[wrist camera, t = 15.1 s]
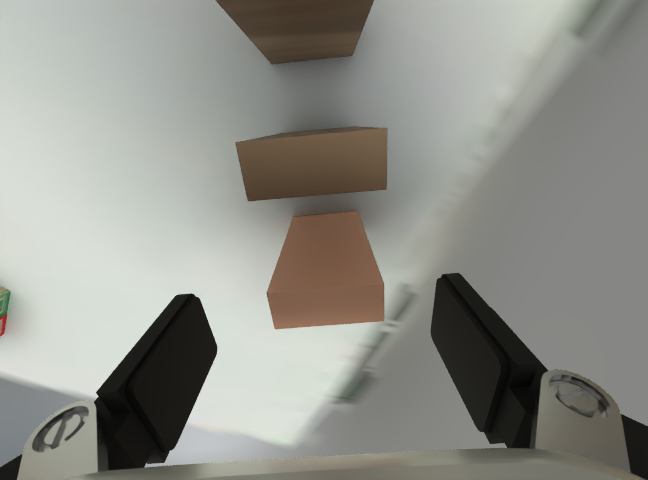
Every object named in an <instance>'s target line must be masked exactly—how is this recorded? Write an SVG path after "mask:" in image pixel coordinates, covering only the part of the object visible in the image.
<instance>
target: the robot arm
mask: <svg viewBox="0 0 648 480" xmlns="http://www.w3.org/2000/svg"><path fill="white" fill-rule="evenodd" d="M431 337H432V339H433V342H434V344H435V346H436V348H437V350H438V352H439V354H440V356H441V358H442V360H443V362H444V364H445V366H446V368H447V370H448V372H449V374H450V376H451V378H452V380H453V382H454V384H455V385H456V388H457V390H458V392H459V394H460V395H461V398H462V400H463V402H464V404H465V405H466V408H467V410H468V412H469V413H470V415H471V418H472V420H473V421H474V424H475V426H476V427H477V429H478V430H479V431H480V432H484V433H485V435H486V437H487V439H488V441H489V443H490V444H496V443H505V444H506V446H507V448H489V449H488V448H487V449H456V450H433V451H414V452H413V451H412V452H393V453H375V454H356V455H338V456H320V457H303V458H285V459H269V460H251V461H236V462H220V463H203V464H189V465H173V466H158V467H147V468H144V466H145V464H146V462H147V464H152V463H164V462H165V460H166V458H167V456H168V454H169V451H170V450H172V449H174V448H175V446H176V444H177V442H178V440H179V438H180V436H181V433H182V431H183V429H184V427H185V424H186V422H187V420H188V418H189V415H190V413H191V411H192V409H193V406H194V404H195V402H196V400H197V397H198V395H199V393H200V391H201V388H202V386H203V384H204V382H205V379H206V377H207V375H208V373H209V370H210V368H211V366H212V364H213V361H214V359H215V357H216V354H217V344H216V342H215V339H214V336H213V334H212V331H211V328H210V325H209V323H208V320H207V317H206V314H205V312H204V309H203V306H202V304H201V301H200V299H199V298H198V297H196V296H195V295H194V294H180V295H176V296H175V297H174V298H173V300H172V301H171V302H170V303H169V304H168V306H167V307H166V308H165V309H164V310H163V312H162V313H161V314H160V315H159V317H158V318H157V319H156V320H155V321H154V323H153V324H152V325H151V326H150V327H149V329H148V330H147V331H146V332H145V334H144V335H143V336H142V337H141V338H140V340H139V341H138V342H137V343H136V345H135V346H134V347H133V348H132V349H131V351H130V352H129V353H128V354H127V355H126V357H125V358H124V359H123V360H122V362H121V363H120V364H119V365H118V366H117V368H116V369H115V370H114V371H113V372H112V374H111V375H110V376H109V377H108V379H107V380H106V381H105V382H104V383H103V385H102V386H101V387H100V388H99V390H98V391H97V392H96V393H97V395H98V396H99V397H98V398H97V399H96V400H95V402H94V403H93V402H91V401H79V402H75V403H72V404H70V405H68V406H66V407H64V408H62V409H60V410H59V411H57V412H56V413H54V414H52V416H50V417H49V418H47V419H46V420H45V421H44V422H43V423H42V424H41V425H40V426H39V427H38V428H37V429H36V430H35V431H34V432H33V433H32V434H31V436H30V437H29V439H28V440H27V442H26V444H25V447H24V449H23V454H21V455H20V456H18V457H16V458H15V459H13V460H12V461H10V462H8V463H7V464H5V465H3V466H2V467H0V480H648V426H645V425H643V424H641V423H639V422H637V421H635V420H633V419H631V418H628V417H626V416H624V415H622V414H621V413H620V410H619V408H618V405H617V403H616V402H615V401H614V400H613V398H612V397H611V396H610V395H609V394H608V393H607V392H606V391H605V390H604V389H602V388H601V387H600V386H599V385H597V384H596V383H594V382H592V381H591V380H589V379H587V378H585V377H583V376H581V375H579V374H576V373H573V372H569V371H567V370H558V369H555V370H549V371H548V370H547V369H546V368H545V367H544V365H543V364H542V363H541V362H540V361H539V360H538V359H537V358H536V357H535V355H534V354H533V353H532V352H531V351H530V350H529V349H528V348H527V346H526V345H525V344H524V343H523V342H522V341H521V340H520V339H519V338H518V337H517V335H516V334H515V333H514V332H513V331H512V330H511V329H510V328H509V326H508V325H507V324H506V323H505V322H504V321H503V320H502V319H501V318H500V317H499V315H498V314H497V313H496V312H495V311H494V310H493V309H492V308H491V307H489V306H488V305H487V303H486V302H485V301H484V300H483V299H482V298H481V297H480V296H479V294H478V293H477V292H476V291H475V290H474V289H473V288H472V287H471V285H470V284H469V283H468V282H467V281H466V280H465V279H464V278H463V276H462V275H461V274H459V273H451V274H443V275H442V276H441V278H438V279H437V283H436V290H435V299H434V307H433V315H432V323H431Z"/></svg>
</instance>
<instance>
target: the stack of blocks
mask: <svg viewBox="0 0 648 480" xmlns="http://www.w3.org/2000/svg"><path fill="white" fill-rule="evenodd" d="M9 297H10V291H9V290H7V289H4V288H2V287H0V336H2V335H3V334H4V330H5V324H6V318H7V308H8V303H9Z"/></svg>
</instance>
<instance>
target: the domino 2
mask: <svg viewBox="0 0 648 480" xmlns="http://www.w3.org/2000/svg"><path fill="white" fill-rule="evenodd" d="M236 148H237V153H238V157H239V162H240V167H241V171H242V176H243V181H244V185H245V190H246V195H247V199H248V201H256V200H268V199H280V198H292V197H303V196H315V195H327V194H339V193H350V192H362V191H374V190H386V189H387V128H373V127H344V128H334V129H323V130H313V131H302V132H292V133H281V134H276V135H271V136H266V137H261V138H256V139H251V140H246V141H241V142H236Z"/></svg>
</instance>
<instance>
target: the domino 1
mask: <svg viewBox="0 0 648 480" xmlns="http://www.w3.org/2000/svg"><path fill="white" fill-rule="evenodd" d="M216 1H217V2H218V4H219V5H220V6H221V7H222V8H223V9H224V10H225V12H226V13H227V14H228V15H229V16H230V17H231V18H232V19H233V21H234V22H235V23H236V24H237V25H238V26H239V27H240V29H241V30H242V31H243V32H244V33H245V34H246V35H247V36H248V38H249V39H250V40H251V41H252V42H253V43H254V44H255V46H256V47H257V48H258V49H259V50H260V51H261V52H262V54H263V55H264V56H265V57H266V58H267V59H268V60H269V61H270V63H271V64H279V63H288V62H298V61H307V60H317V59H326V58H335V57H345V56H352V55H353V52H354V50H355V47H356V45H357V42H358V40H359V37H360V35H361V32H362V29H363V27H364V24H365V22H366V19H367V17H368V14H369V12H370V9H371V7H372V4H373V1H374V0H216Z"/></svg>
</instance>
